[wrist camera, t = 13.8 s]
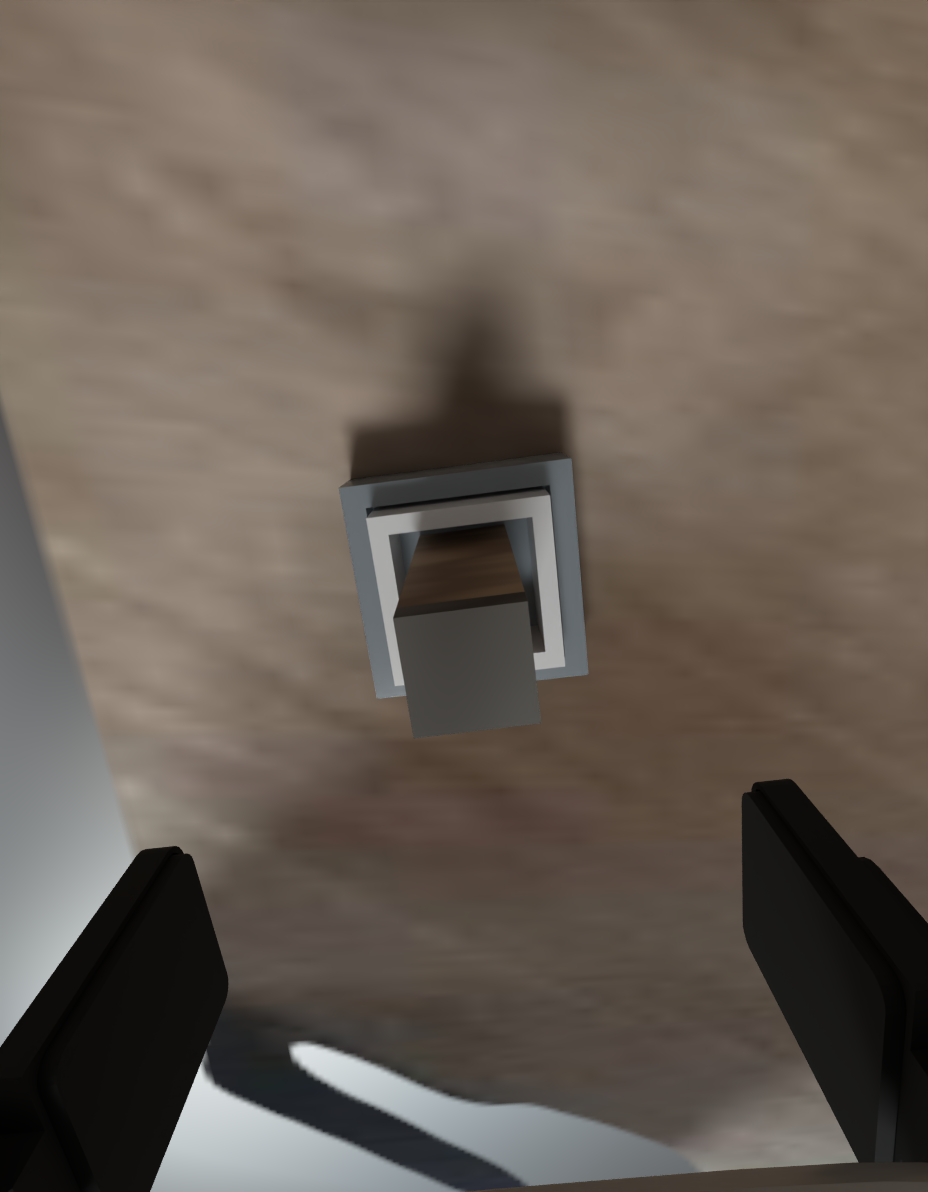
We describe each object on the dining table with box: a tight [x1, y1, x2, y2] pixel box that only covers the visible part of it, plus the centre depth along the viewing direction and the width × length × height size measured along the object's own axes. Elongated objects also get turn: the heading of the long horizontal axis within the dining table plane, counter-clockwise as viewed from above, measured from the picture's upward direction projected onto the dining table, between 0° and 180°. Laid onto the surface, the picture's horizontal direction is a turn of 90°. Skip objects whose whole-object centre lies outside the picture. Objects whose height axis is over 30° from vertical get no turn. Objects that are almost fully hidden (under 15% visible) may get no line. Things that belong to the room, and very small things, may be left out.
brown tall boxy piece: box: [393, 525, 541, 738], centre depth 26 cm, size 4×4×12 cm
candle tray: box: [339, 452, 588, 699], centre depth 30 cm, size 10×10×4 cm
